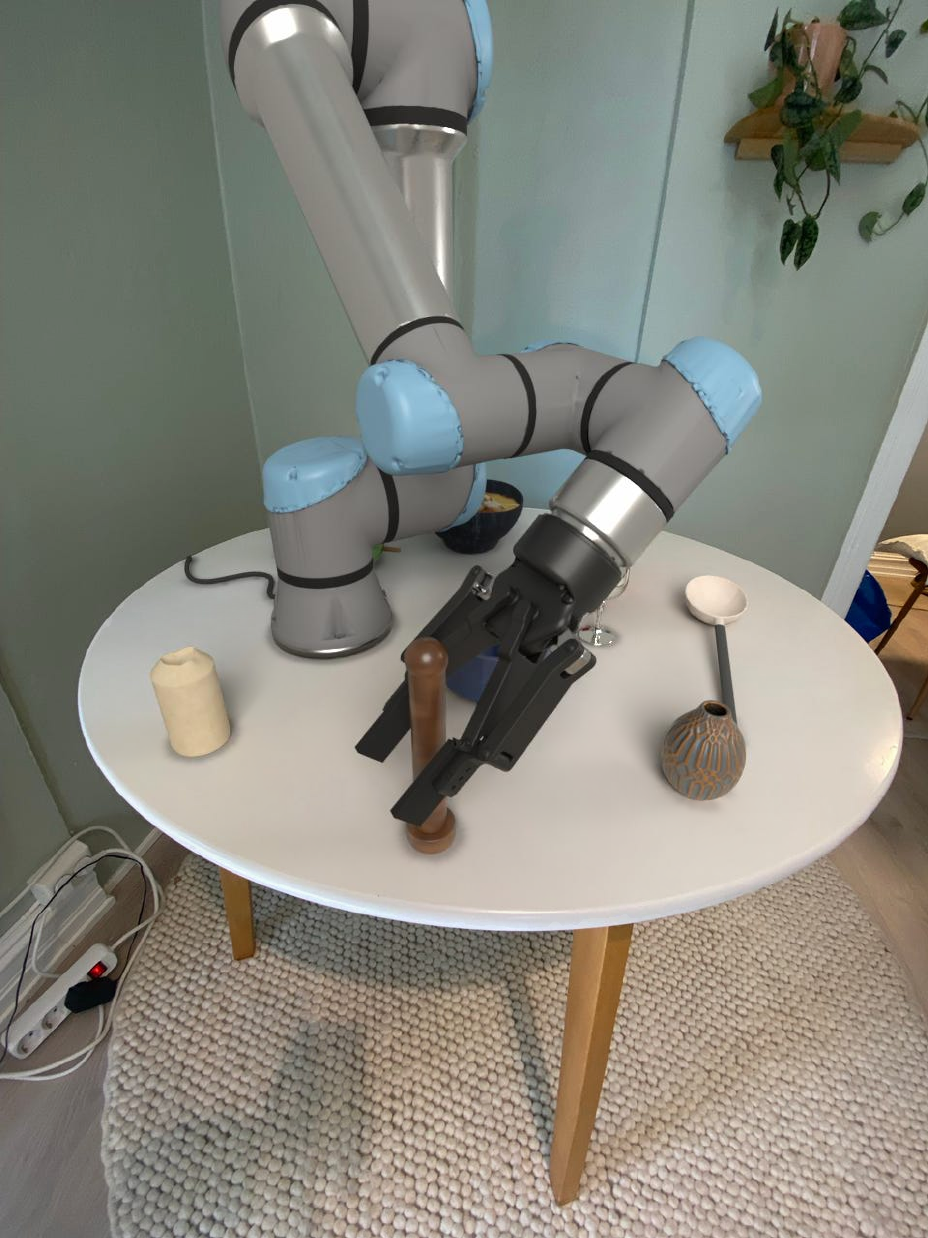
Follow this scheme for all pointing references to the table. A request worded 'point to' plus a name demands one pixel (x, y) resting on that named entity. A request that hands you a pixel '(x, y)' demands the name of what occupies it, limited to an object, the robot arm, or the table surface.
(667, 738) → the vase
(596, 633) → the wineglass
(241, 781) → the table surface
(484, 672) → the blue bowl
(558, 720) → the table surface
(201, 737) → the candle
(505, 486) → the bowl
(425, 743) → the brown wooden post
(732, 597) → the ladle
